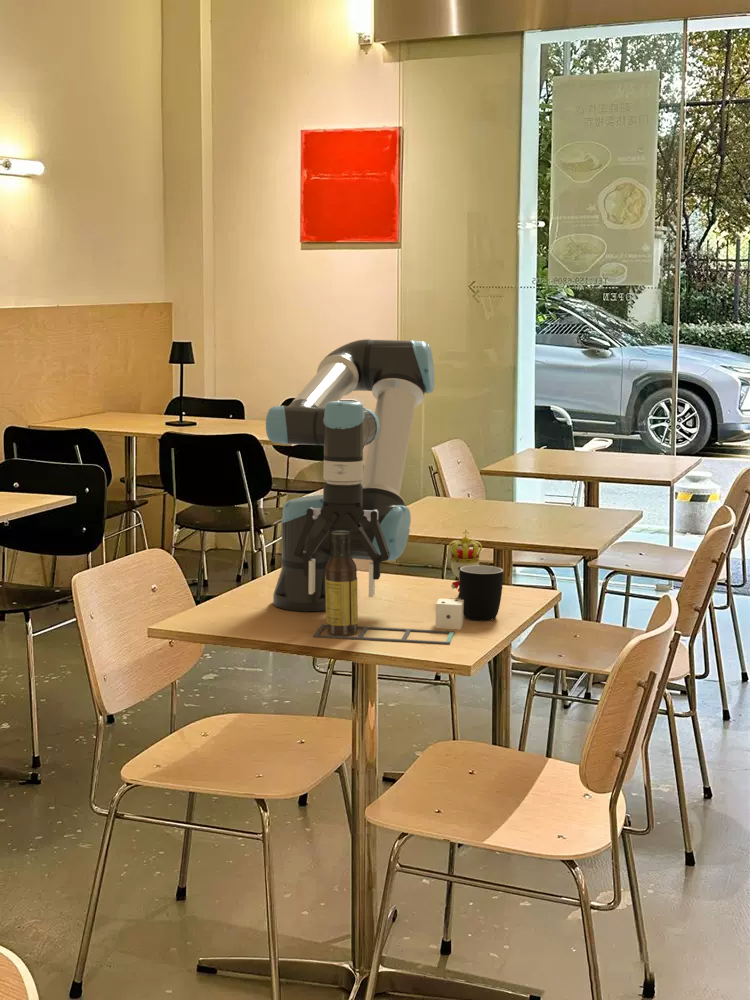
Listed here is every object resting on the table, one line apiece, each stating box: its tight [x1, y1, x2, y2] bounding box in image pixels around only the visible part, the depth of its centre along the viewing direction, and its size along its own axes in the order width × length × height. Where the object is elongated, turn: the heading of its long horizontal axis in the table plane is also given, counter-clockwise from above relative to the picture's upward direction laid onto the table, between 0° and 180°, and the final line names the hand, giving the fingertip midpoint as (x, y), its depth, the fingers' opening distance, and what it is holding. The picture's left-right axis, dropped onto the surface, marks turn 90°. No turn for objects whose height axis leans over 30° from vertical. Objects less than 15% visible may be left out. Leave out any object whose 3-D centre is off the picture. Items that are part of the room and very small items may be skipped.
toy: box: [448, 529, 483, 598], centre depth 279 cm, size 7×7×15 cm
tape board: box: [312, 623, 455, 645], centre depth 245 cm, size 9×26×1 cm, turn 81°
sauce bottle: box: [325, 531, 359, 636], centre depth 245 cm, size 6×6×20 cm
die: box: [435, 598, 464, 630], centre depth 253 cm, size 5×5×5 cm
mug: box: [458, 564, 504, 622], centre depth 261 cm, size 12×9×10 cm
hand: (341, 594), depth 245 cm, fingers open, 11 cm apart
